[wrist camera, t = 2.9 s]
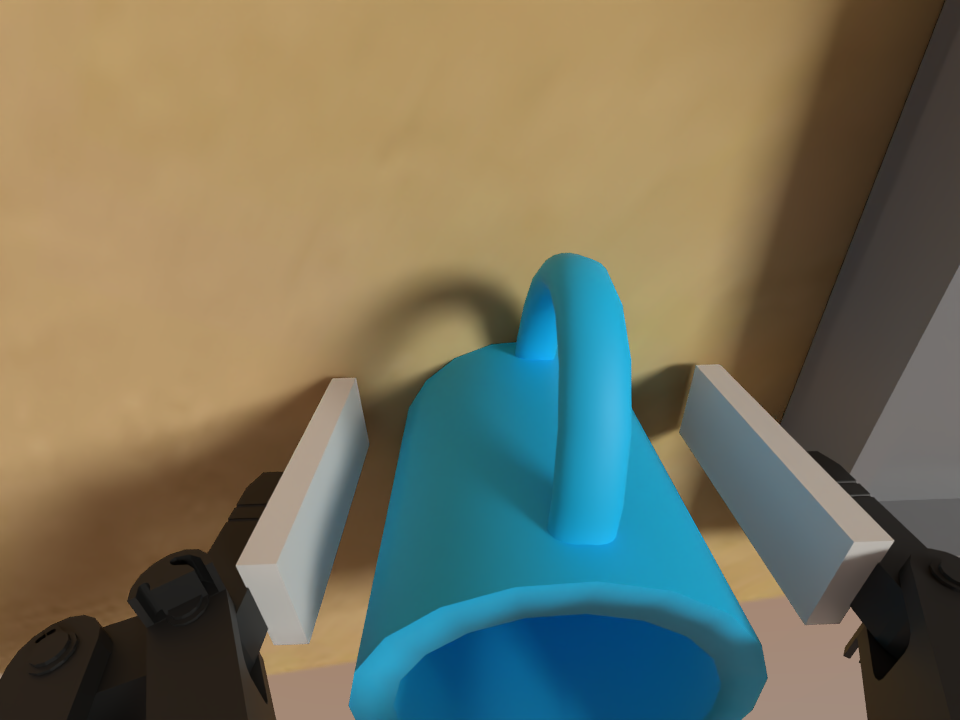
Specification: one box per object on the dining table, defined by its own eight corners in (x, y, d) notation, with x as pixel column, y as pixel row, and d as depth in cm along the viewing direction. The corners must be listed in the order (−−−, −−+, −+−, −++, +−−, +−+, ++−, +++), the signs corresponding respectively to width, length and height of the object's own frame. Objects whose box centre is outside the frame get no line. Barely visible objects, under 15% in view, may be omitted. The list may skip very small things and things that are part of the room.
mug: (603, 521, 18) (691, 786, 11) (405, 514, 18) (361, 786, 10) (694, 225, 12) (1011, 385, 5) (399, 204, 12) (291, 346, 5)
